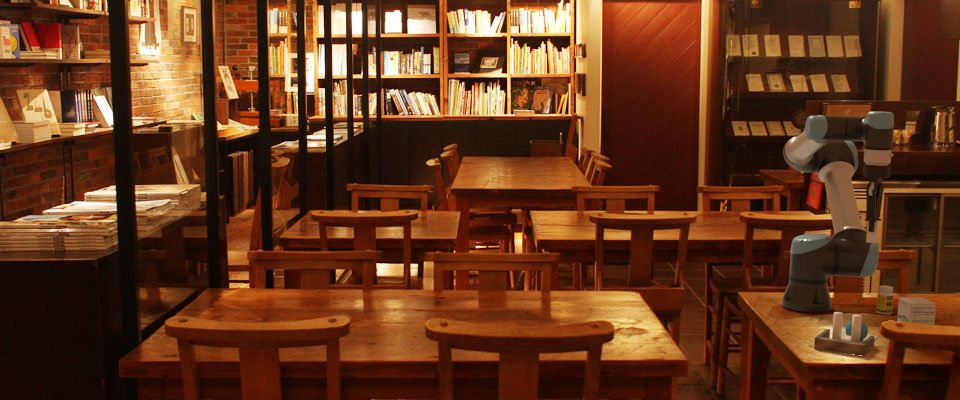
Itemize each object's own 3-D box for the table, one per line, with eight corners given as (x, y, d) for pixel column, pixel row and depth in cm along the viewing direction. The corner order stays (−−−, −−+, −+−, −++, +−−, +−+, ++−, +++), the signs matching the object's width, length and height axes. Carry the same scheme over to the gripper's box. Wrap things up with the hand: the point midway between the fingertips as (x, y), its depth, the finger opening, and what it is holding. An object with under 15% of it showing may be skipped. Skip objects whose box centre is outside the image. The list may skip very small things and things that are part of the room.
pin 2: (849, 348, 283) (851, 316, 282) (851, 346, 285) (853, 314, 284) (858, 349, 282) (860, 317, 281) (860, 347, 284) (862, 315, 283)
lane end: (814, 348, 282) (814, 337, 282) (825, 339, 292) (826, 328, 292) (863, 356, 275) (864, 345, 275) (873, 346, 285) (874, 336, 285)
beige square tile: (833, 338, 293) (833, 337, 293) (842, 331, 301) (842, 330, 301) (869, 344, 287) (869, 343, 287) (877, 336, 296) (878, 336, 296)
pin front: (844, 342, 288) (834, 349, 281) (845, 334, 288) (835, 341, 281) (852, 345, 287) (843, 352, 280) (854, 336, 287) (844, 343, 279)
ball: (848, 313, 291) (848, 325, 296) (842, 329, 288) (842, 341, 293) (870, 318, 288) (870, 330, 293) (864, 335, 285) (864, 347, 290)
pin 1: (830, 345, 286) (832, 313, 285) (833, 343, 288) (835, 311, 287) (839, 346, 285) (841, 314, 283) (841, 344, 287) (844, 312, 285)
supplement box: (894, 340, 292) (897, 296, 290) (919, 340, 293) (923, 296, 291) (907, 347, 285) (911, 303, 283) (933, 347, 285) (936, 303, 284)
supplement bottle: (887, 315, 322) (889, 288, 321) (873, 312, 325) (875, 286, 324) (895, 313, 325) (897, 287, 324) (881, 310, 328) (883, 284, 327)
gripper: (885, 166, 299) (879, 246, 302) (895, 163, 310) (889, 240, 313) (858, 164, 303) (853, 243, 306) (868, 161, 314) (863, 238, 317)
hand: (871, 242), depth 310 cm, fingers closed
